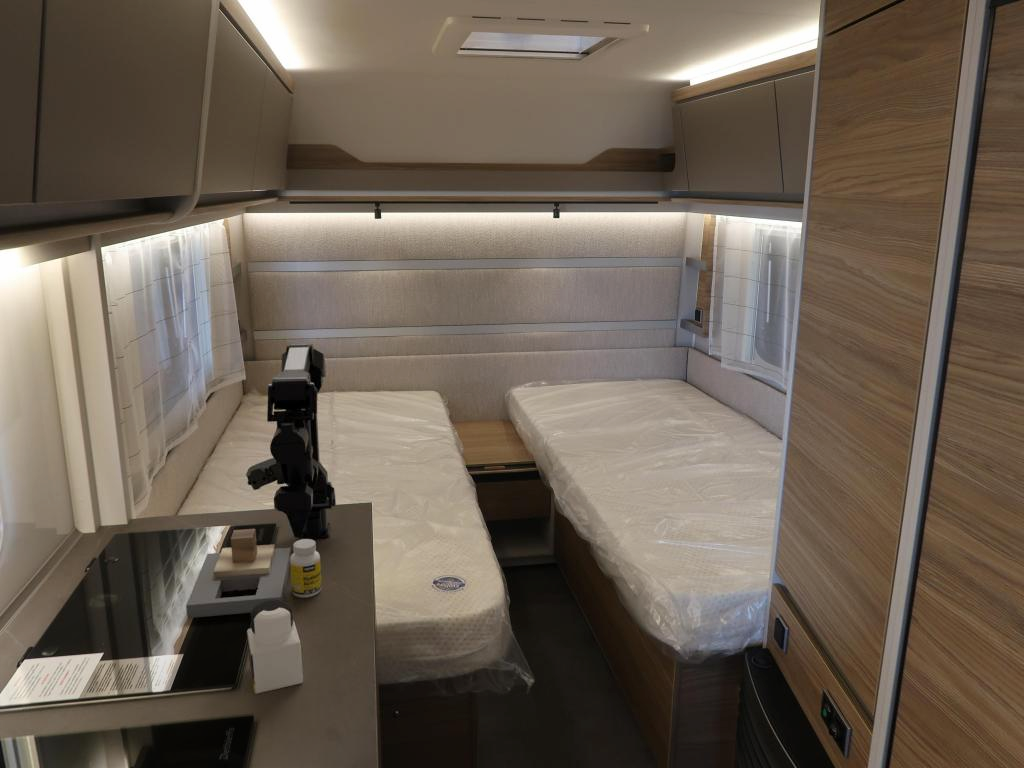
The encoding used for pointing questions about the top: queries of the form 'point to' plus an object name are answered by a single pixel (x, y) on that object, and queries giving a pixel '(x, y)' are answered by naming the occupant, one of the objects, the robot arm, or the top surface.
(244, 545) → the lid
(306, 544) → the supplement bottle
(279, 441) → the robot arm
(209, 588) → the board
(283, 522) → the top surface
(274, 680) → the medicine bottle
